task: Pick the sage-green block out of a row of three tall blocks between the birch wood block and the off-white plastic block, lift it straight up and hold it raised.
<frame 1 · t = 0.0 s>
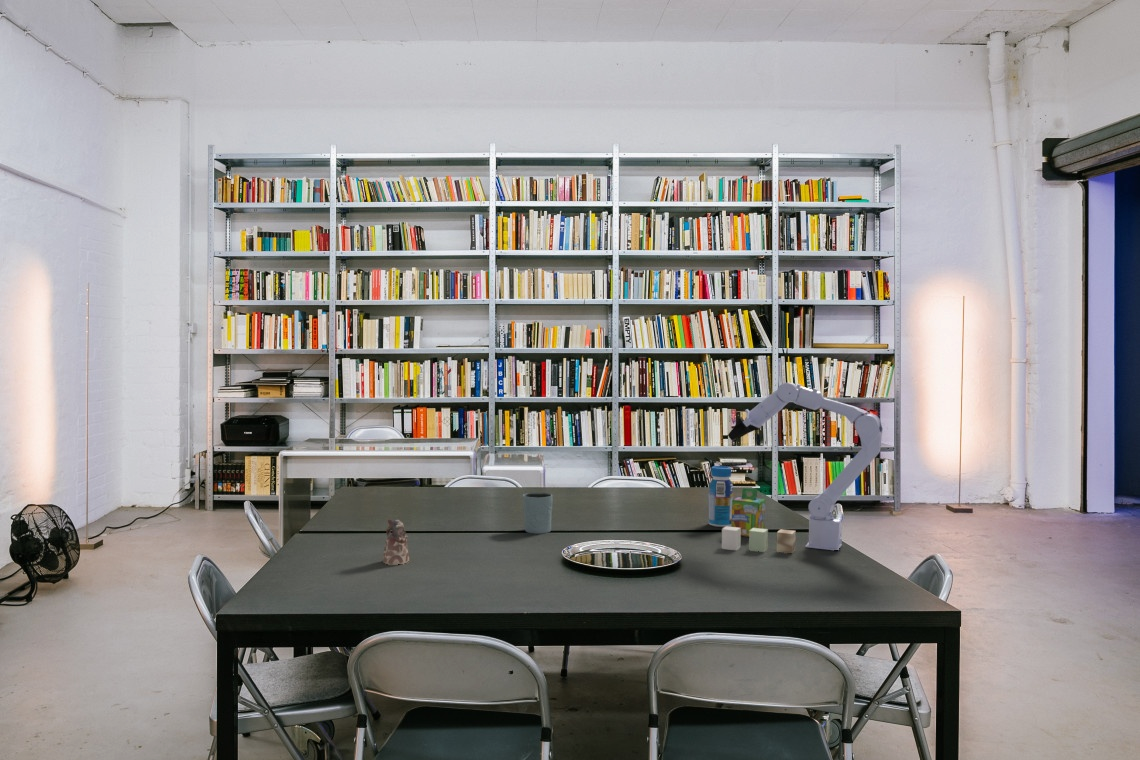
hand: (733, 436, 246), 32 cm above the table, tool tilted 50°, fingers open, 7 cm apart
chalk box: (748, 534, 250), on the table
blue-gray cup: (537, 531, 254), on the table
birch block: (786, 551, 228), on the table
figurine: (396, 562, 214), on the table
sage green block: (758, 549, 230), on the table
off-white block: (731, 548, 232), on the table
beverage bottle: (720, 525, 264), on the table
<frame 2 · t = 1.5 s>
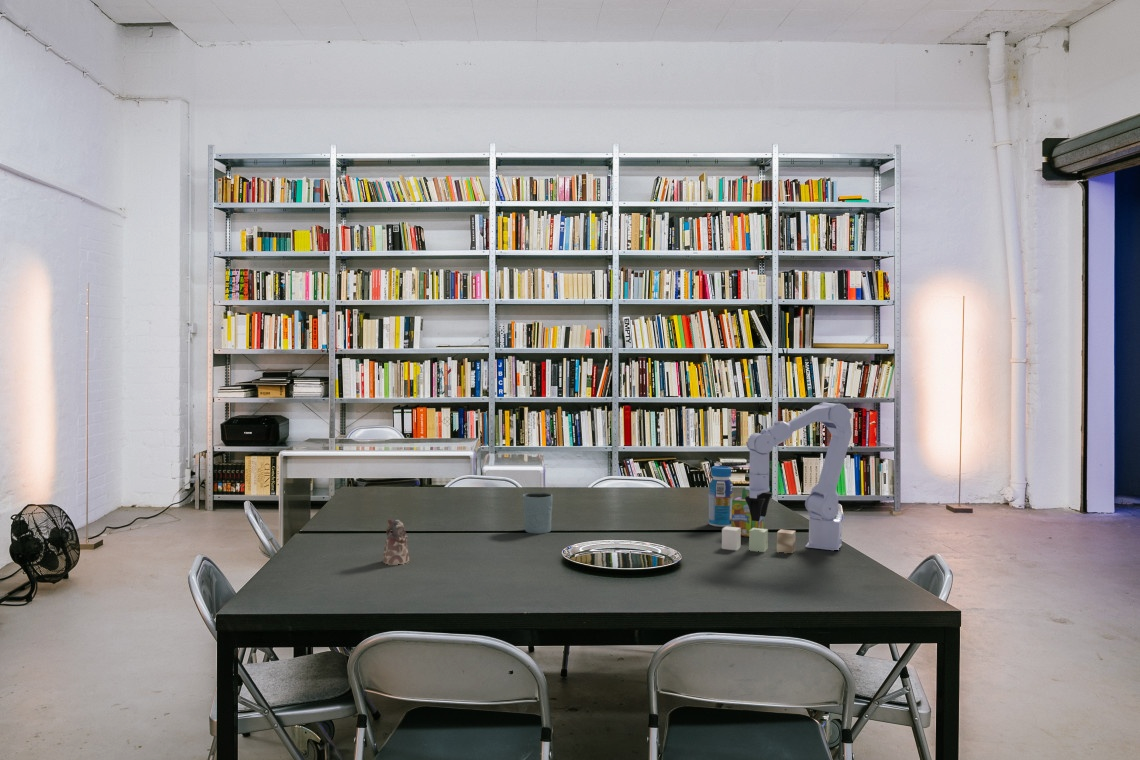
hand: (758, 518, 230), 9 cm above the table, tool pointing down, fingers open, 7 cm apart
nothing on the table moved.
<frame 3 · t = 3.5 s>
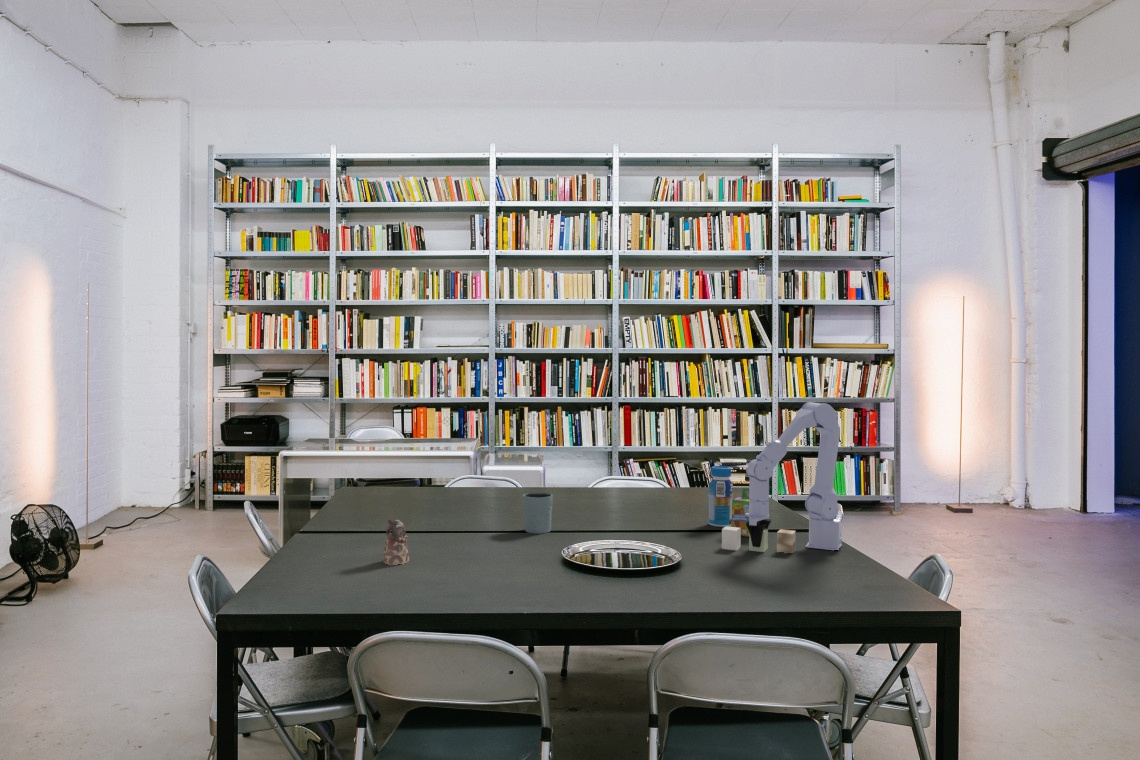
hand: (758, 544, 230), 1 cm above the table, tool pointing down, fingers closed on sage green block, 4 cm apart
sage green block: (758, 549, 230), on the table, touching gripper
everything else where it was.
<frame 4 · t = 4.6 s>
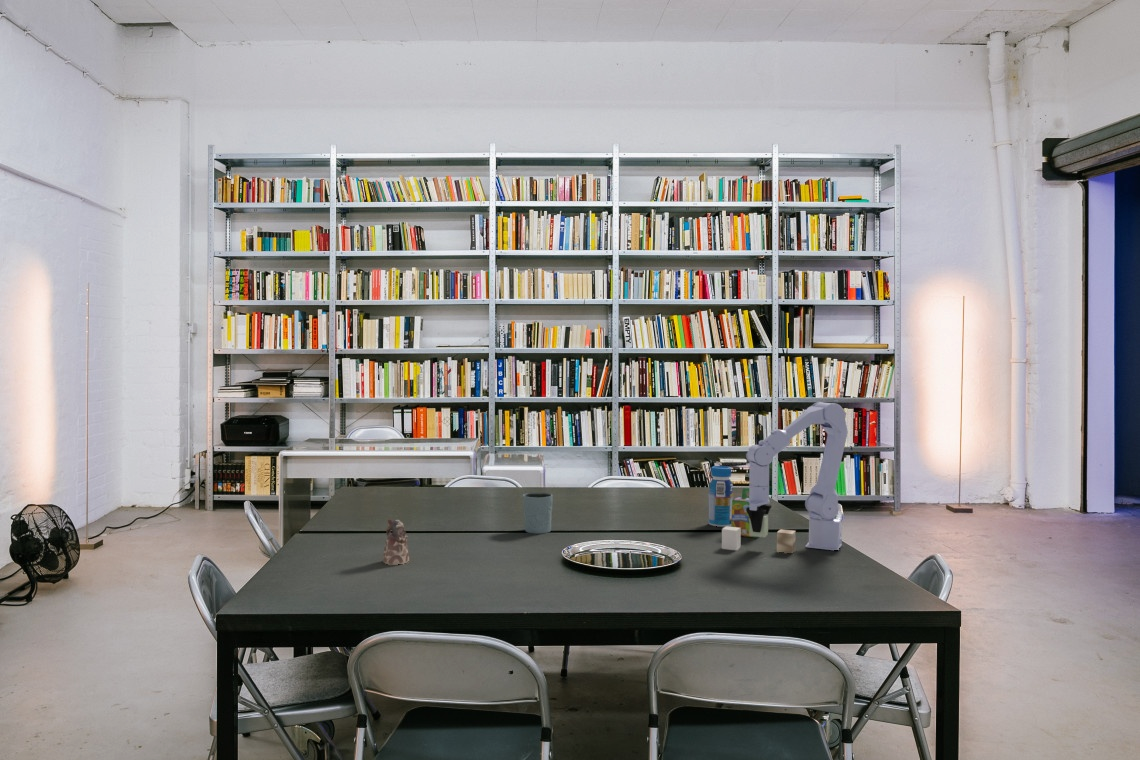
hand: (758, 530, 230), 6 cm above the table, tool pointing down, fingers closed on sage green block, 4 cm apart
sage green block: (758, 535, 230), point 4 cm above the table, touching gripper
everything else where it was.
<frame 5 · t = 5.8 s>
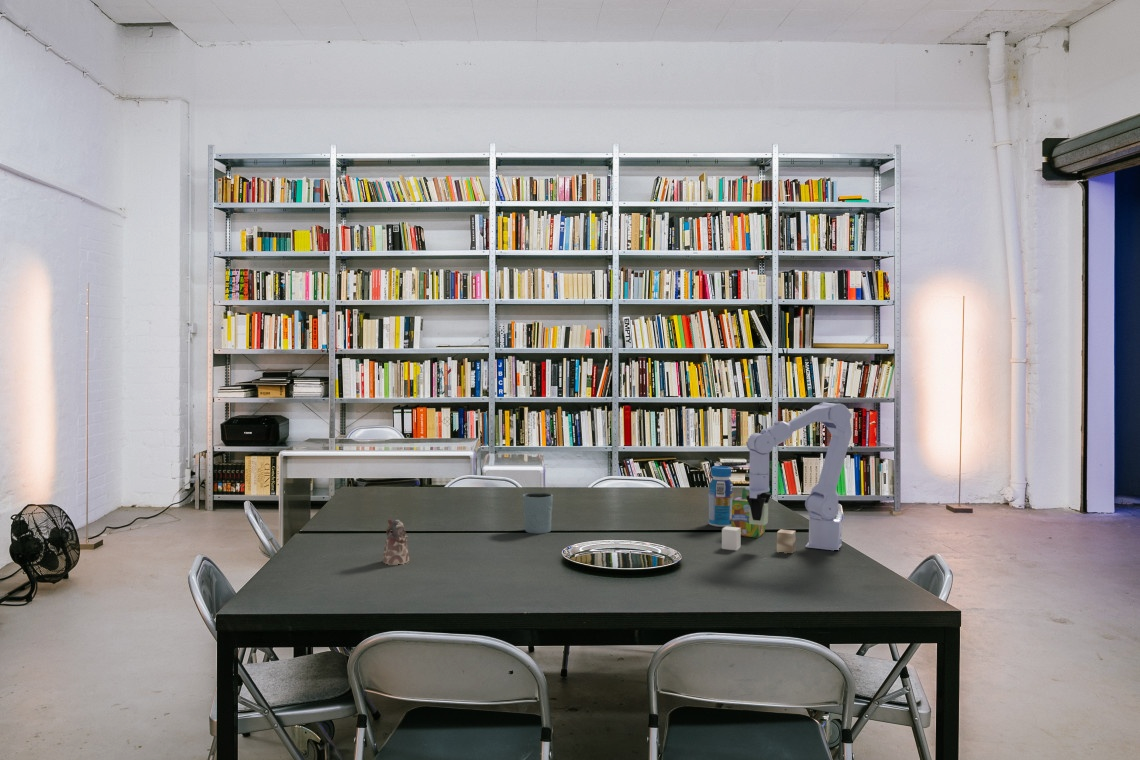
hand: (758, 518, 230), 9 cm above the table, tool pointing down, fingers closed on sage green block, 4 cm apart
sage green block: (758, 523, 230), point 8 cm above the table, touching gripper
everything else where it was.
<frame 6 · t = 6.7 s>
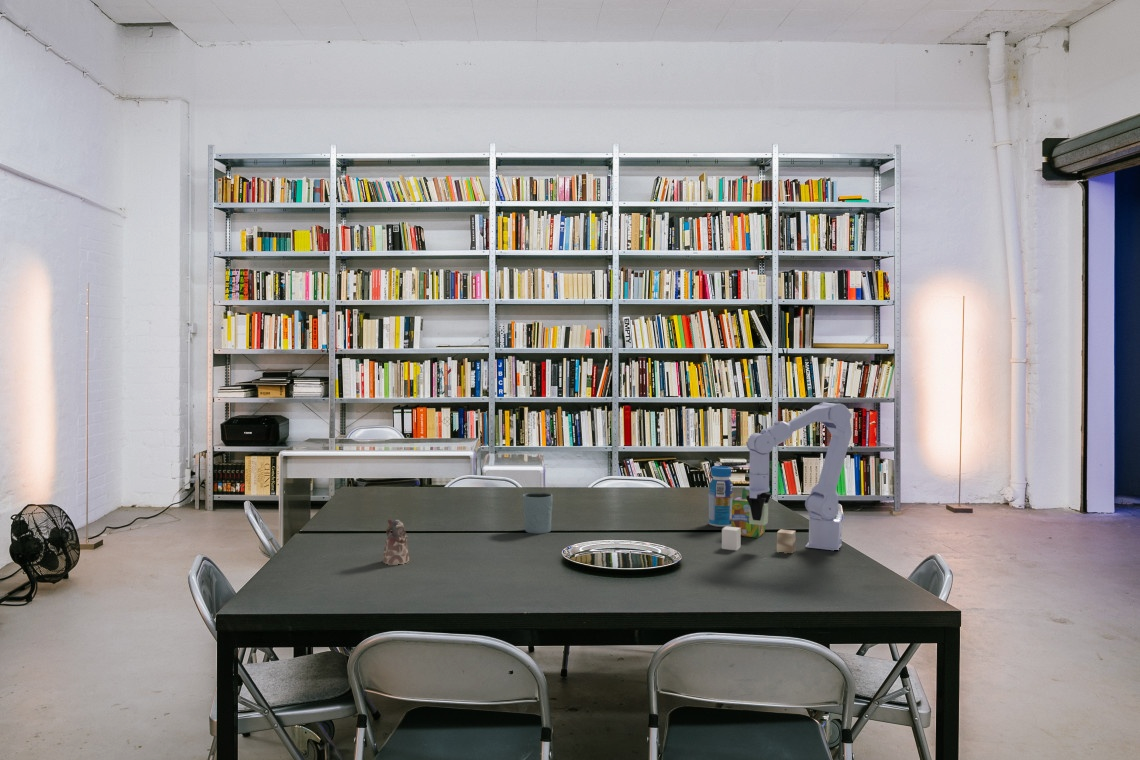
hand: (758, 518, 230), 9 cm above the table, tool pointing down, fingers closed on sage green block, 4 cm apart
sage green block: (758, 523, 230), point 8 cm above the table, touching gripper
everything else where it was.
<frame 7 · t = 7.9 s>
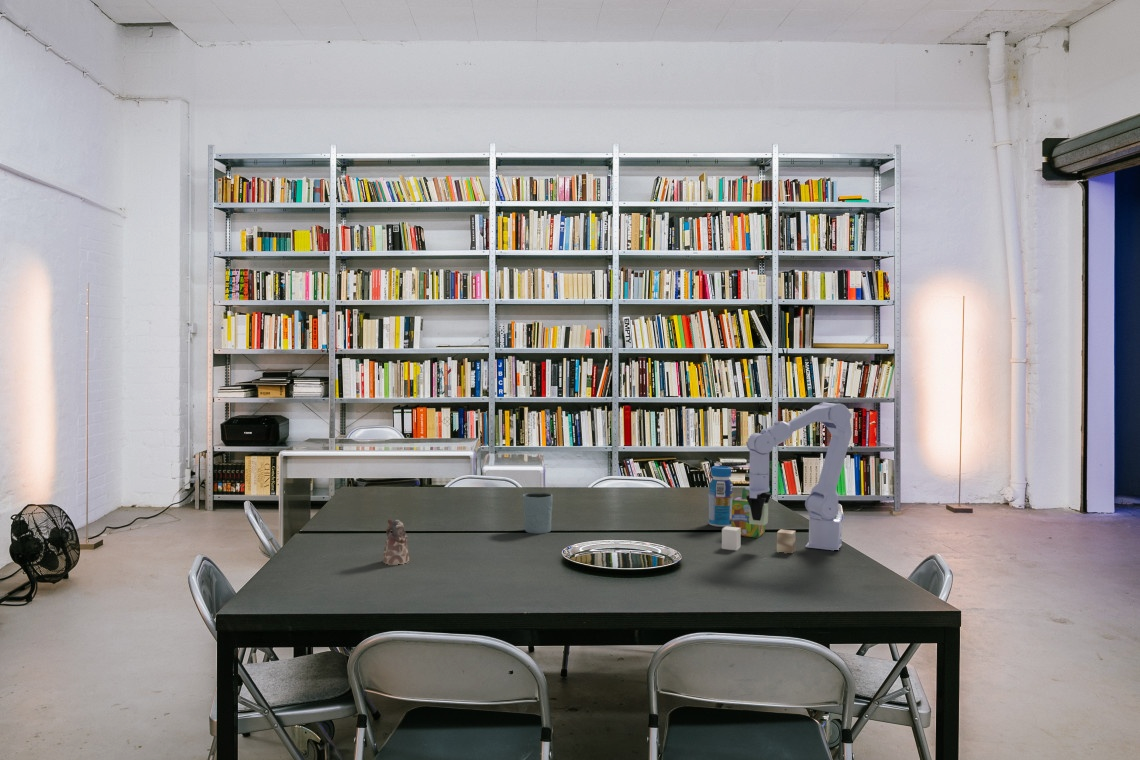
hand: (758, 518, 230), 9 cm above the table, tool pointing down, fingers closed on sage green block, 4 cm apart
sage green block: (758, 523, 230), point 8 cm above the table, touching gripper
everything else where it was.
at the end: sage green block point 8.0 cm above the table; birch block moved 0.1 cm from its start; off-white block moved 0.1 cm from its start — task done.
